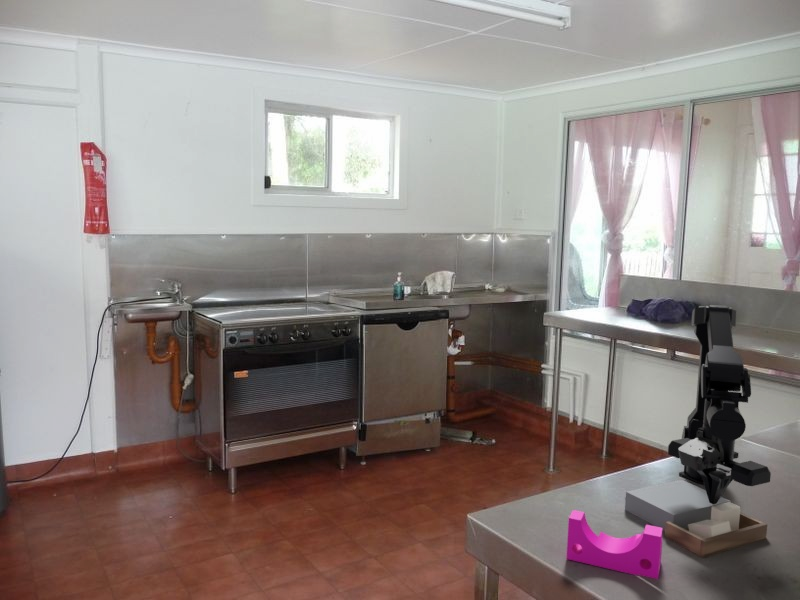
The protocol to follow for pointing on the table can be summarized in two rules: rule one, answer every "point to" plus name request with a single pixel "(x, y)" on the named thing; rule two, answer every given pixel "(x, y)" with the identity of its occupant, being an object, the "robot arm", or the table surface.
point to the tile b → (727, 514)
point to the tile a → (709, 528)
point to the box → (718, 537)
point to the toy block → (615, 548)
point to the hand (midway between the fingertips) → (713, 503)
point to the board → (671, 504)
